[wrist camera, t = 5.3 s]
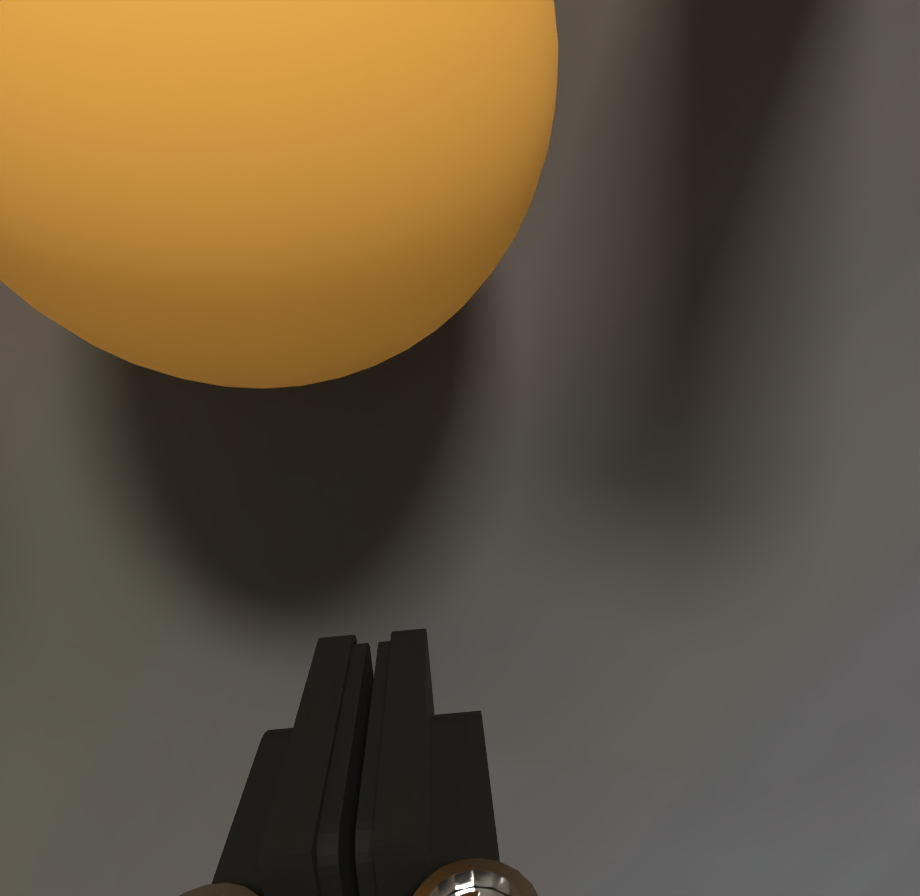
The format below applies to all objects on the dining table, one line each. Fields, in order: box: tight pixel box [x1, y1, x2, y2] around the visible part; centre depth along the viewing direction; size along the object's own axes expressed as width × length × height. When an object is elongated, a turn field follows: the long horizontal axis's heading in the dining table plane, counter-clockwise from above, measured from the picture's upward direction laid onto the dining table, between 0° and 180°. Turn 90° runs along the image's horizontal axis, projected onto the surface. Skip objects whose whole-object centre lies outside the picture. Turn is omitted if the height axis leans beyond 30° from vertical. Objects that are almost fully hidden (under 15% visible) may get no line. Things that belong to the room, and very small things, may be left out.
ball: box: [0, 0, 558, 389], centre depth 7 cm, size 6×6×6 cm
